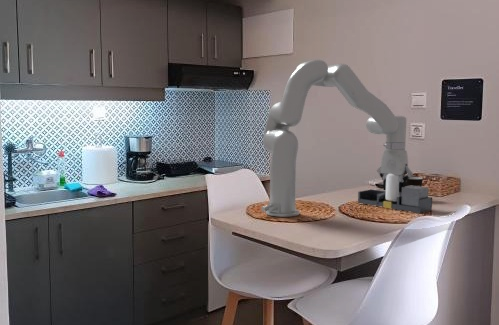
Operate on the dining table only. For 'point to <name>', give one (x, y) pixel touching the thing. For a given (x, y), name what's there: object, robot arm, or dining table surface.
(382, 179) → the robot arm
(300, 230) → the dining table surface
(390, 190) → the can
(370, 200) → the rack
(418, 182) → the coffee mug
